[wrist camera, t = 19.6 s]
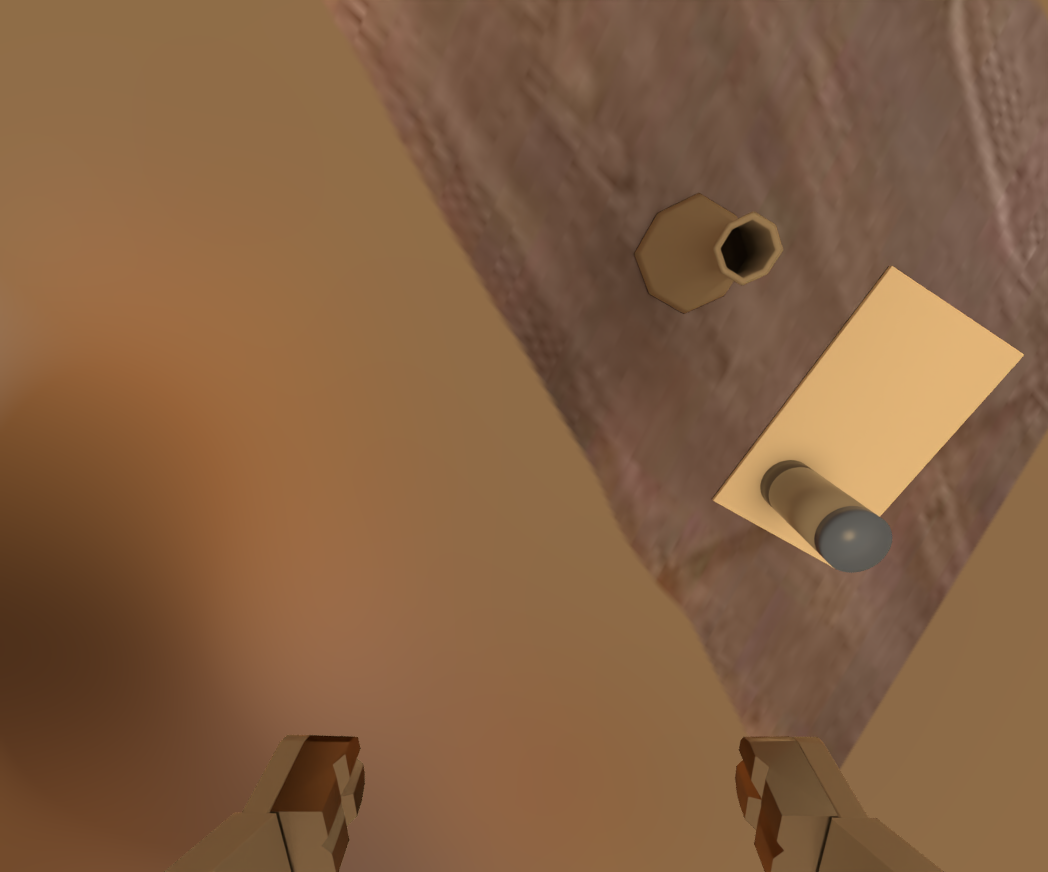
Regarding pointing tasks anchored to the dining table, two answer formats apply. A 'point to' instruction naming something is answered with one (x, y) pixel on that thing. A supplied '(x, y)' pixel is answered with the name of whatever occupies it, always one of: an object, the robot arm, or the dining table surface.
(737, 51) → the dining table surface
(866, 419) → the paper
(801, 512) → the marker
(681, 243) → the flask
